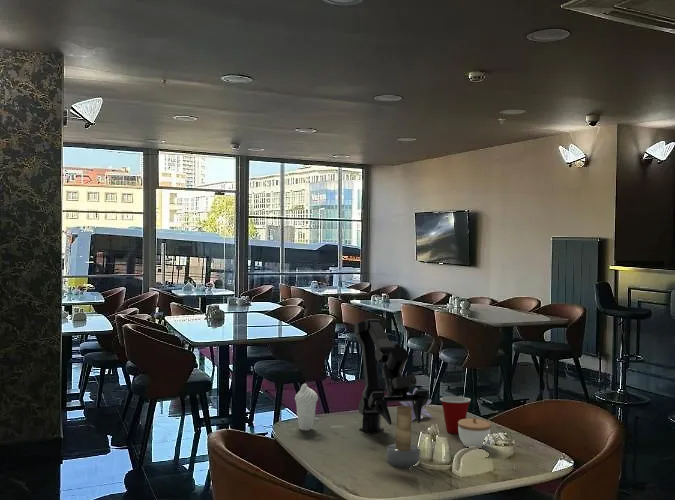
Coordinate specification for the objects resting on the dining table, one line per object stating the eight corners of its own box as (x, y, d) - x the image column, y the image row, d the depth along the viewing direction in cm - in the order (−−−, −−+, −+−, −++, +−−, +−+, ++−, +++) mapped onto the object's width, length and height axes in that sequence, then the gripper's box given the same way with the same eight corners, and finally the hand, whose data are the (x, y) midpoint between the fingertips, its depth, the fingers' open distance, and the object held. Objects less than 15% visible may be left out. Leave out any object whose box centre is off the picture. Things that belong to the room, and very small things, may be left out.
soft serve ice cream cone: (321, 427, 230) (322, 383, 230) (310, 433, 223) (311, 387, 222) (300, 424, 234) (301, 380, 233) (289, 430, 226) (290, 384, 226)
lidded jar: (453, 441, 218) (454, 413, 218) (484, 440, 219) (485, 413, 219) (462, 451, 207) (463, 422, 207) (494, 451, 208) (495, 422, 208)
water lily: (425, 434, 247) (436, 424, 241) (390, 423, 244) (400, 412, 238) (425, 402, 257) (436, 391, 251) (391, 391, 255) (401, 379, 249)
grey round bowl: (398, 453, 203) (399, 441, 203) (425, 461, 197) (426, 448, 197) (380, 461, 196) (380, 448, 196) (407, 469, 189) (407, 456, 189)
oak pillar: (398, 445, 199) (399, 405, 199) (412, 447, 198) (413, 407, 197) (394, 449, 195) (395, 408, 195) (408, 451, 193) (409, 410, 193)
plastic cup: (460, 426, 236) (461, 393, 236) (475, 434, 226) (476, 400, 225) (433, 428, 232) (434, 395, 232) (448, 437, 222) (449, 402, 222)
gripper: (371, 366, 198) (382, 411, 187) (428, 364, 202) (441, 408, 192) (363, 385, 206) (373, 430, 195) (418, 383, 210) (430, 427, 200)
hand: (404, 423), depth 195 cm, fingers open, 9 cm apart
